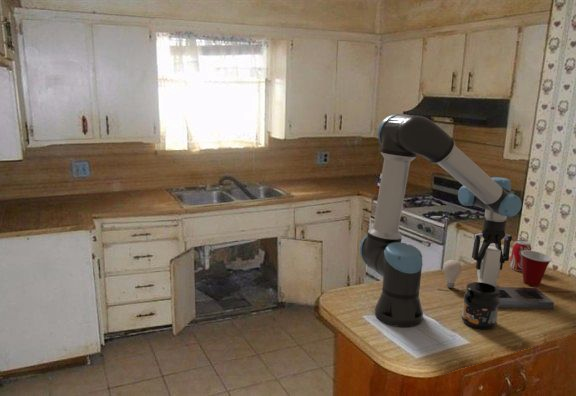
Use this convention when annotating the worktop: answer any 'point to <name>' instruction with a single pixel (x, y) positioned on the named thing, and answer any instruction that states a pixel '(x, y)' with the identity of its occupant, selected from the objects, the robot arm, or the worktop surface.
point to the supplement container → (480, 305)
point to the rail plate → (516, 300)
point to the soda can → (518, 254)
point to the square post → (490, 266)
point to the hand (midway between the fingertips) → (487, 277)
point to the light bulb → (451, 272)
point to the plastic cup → (534, 266)
